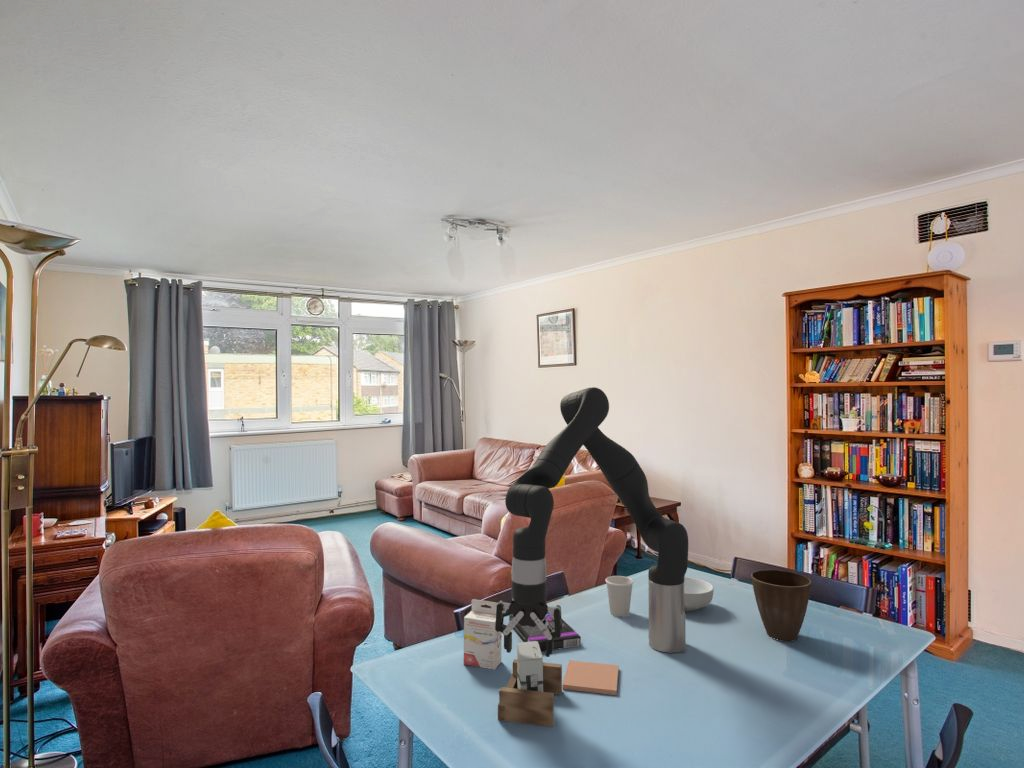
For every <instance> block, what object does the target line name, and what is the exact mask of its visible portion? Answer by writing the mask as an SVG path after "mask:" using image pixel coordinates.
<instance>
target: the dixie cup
mask: <svg viewBox="0 0 1024 768" xmlns="http://www.w3.org/2000/svg"><path fill="white" fill-rule="evenodd" d="M604 581H605V583H606V589H607V591H606V592H607V597H608V605H609V613H610V615H611V616H614V617H618V618H619V617H628V616H629V615H630V610H631V609H630V608H631V599H632V592H633V584H634V580H633V579H632V578H630V577H628V576H622V575H612V576H611V575H610V576H607V577H606V578H605V580H604Z"/></svg>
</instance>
